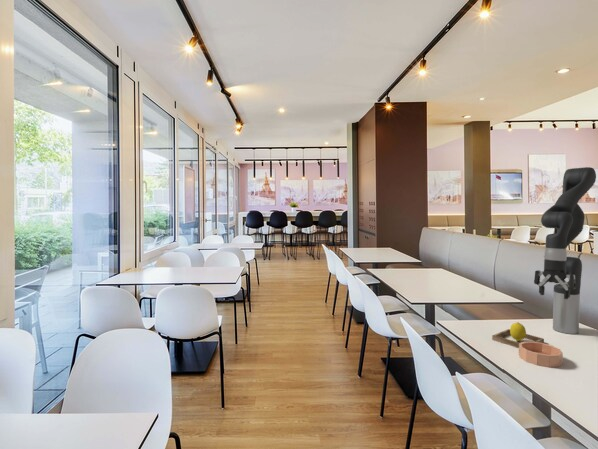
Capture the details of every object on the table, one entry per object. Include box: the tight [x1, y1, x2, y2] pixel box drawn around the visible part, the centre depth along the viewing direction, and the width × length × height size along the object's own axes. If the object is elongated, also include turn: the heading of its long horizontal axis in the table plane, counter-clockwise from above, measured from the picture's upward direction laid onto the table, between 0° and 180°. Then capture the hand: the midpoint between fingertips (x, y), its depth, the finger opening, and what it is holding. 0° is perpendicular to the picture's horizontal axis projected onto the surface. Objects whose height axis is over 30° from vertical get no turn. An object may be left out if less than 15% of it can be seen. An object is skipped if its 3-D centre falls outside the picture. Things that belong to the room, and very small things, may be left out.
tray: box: [491, 328, 545, 349], centre depth 141 cm, size 14×14×2 cm
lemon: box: [509, 321, 527, 342], centre depth 141 cm, size 6×6×8 cm
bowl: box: [518, 341, 564, 368], centre depth 124 cm, size 13×13×4 cm
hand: (553, 296), depth 145 cm, fingers open, 8 cm apart
